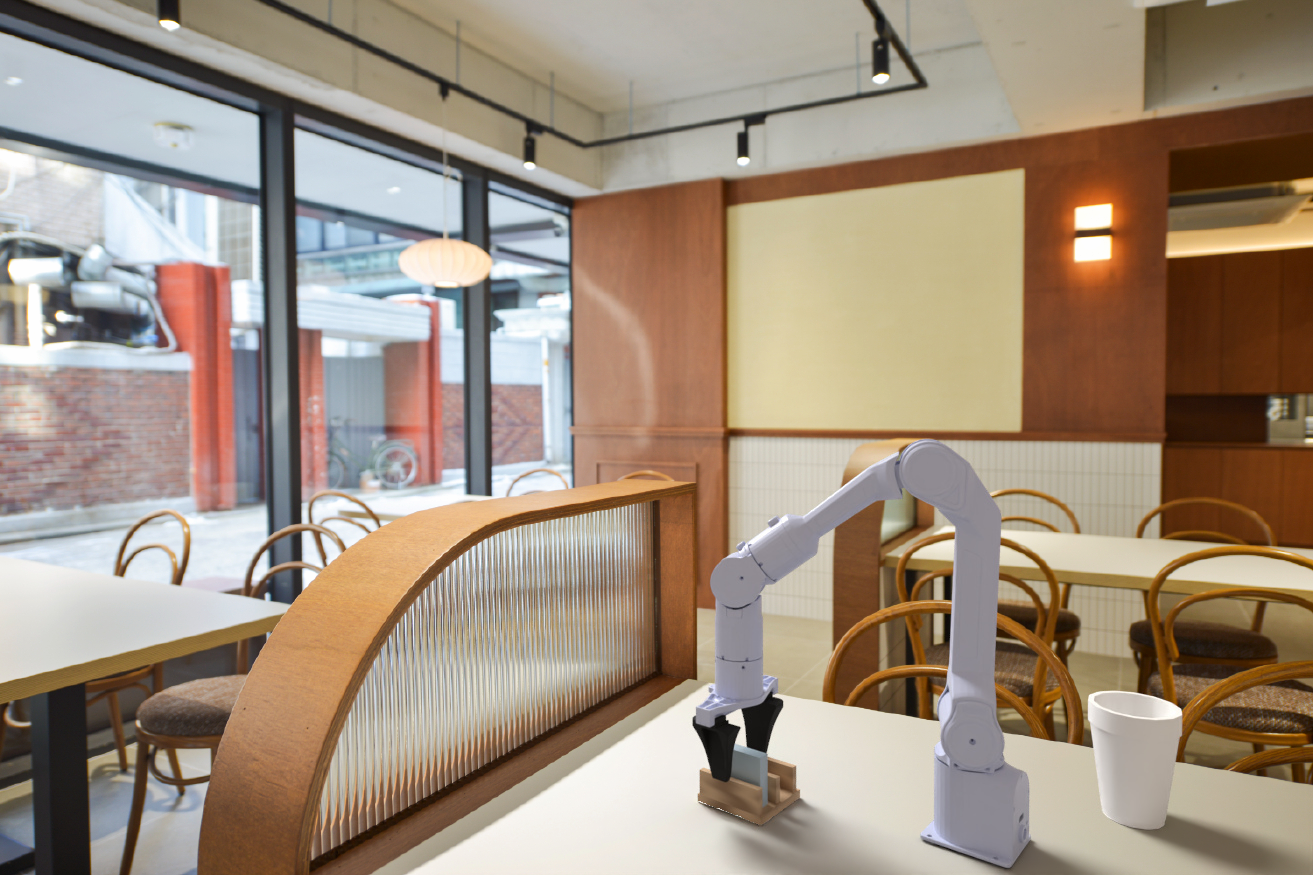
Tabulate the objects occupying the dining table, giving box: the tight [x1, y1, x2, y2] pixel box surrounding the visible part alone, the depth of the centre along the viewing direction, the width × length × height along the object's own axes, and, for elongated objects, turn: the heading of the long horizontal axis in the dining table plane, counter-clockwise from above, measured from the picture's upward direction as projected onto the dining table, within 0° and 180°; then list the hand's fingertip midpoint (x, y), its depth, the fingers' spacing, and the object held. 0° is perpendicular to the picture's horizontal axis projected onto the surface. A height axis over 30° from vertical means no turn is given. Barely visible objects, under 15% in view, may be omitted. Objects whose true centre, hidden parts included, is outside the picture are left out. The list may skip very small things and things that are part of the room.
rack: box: [697, 756, 801, 826], centre depth 97 cm, size 9×9×4 cm
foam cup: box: [1087, 690, 1183, 831], centre depth 93 cm, size 10×9×13 cm
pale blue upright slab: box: [730, 743, 769, 808], centre depth 96 cm, size 7×2×6 cm, turn 50°
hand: (739, 767), depth 96 cm, fingers open, 7 cm apart
